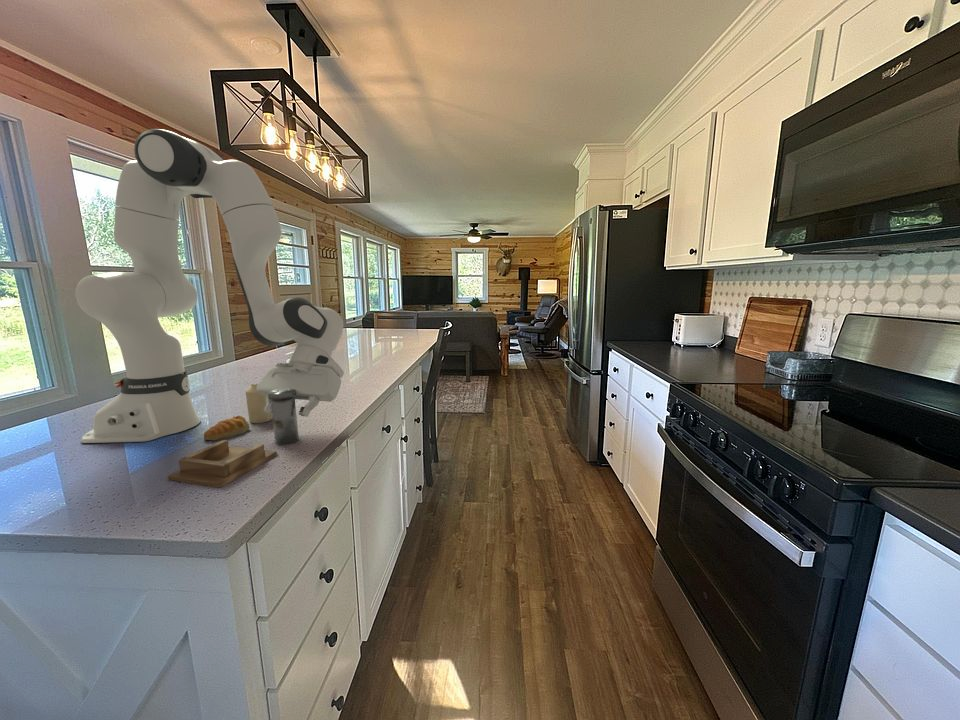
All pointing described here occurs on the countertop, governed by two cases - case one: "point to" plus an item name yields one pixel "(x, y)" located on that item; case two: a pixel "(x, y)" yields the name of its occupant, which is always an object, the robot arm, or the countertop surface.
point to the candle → (256, 406)
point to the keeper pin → (284, 415)
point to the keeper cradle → (220, 464)
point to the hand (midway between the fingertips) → (285, 414)
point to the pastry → (227, 428)
